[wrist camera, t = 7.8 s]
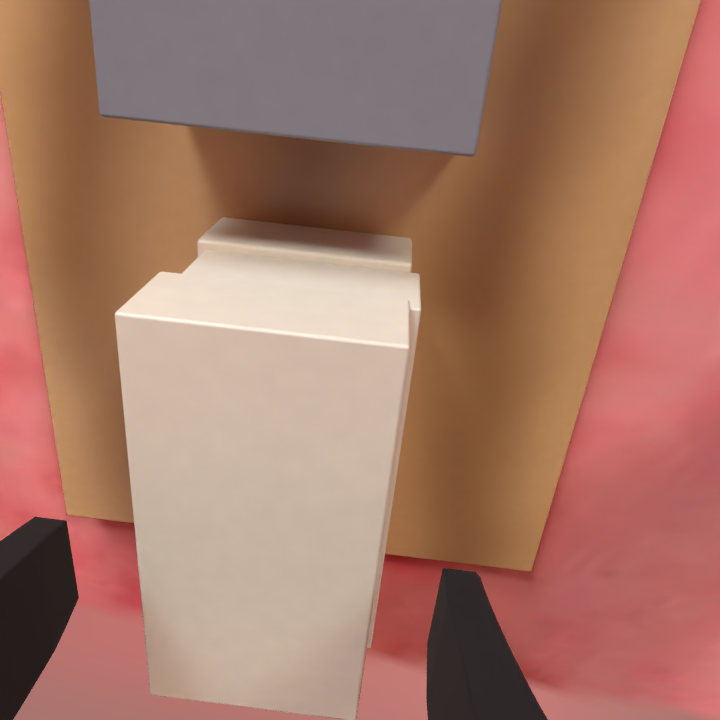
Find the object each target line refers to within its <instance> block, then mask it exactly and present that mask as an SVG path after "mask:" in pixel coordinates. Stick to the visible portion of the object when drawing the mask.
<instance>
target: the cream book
mask: <svg viewBox="0 0 720 720" xmlns="http://www.w3.org/2000/svg"><path fill="white" fill-rule="evenodd" d="M115 324H116V335H117V346H118V356H119V367H120V377H121V388H122V399H123V409H124V420H125V431H126V441H127V452H128V463H129V473H130V484H131V495H132V505H133V516H134V527H135V537H136V548H137V559H138V569H139V580H140V591H141V601H142V612H143V623H144V633H145V644H146V654H147V665H148V676H149V686H150V694H151V695H155V696H163V697H171V698H179V699H187V700H195V701H202V702H210V703H218V704H227V705H234V706H242V707H250V708H257V709H265V710H273V711H280V712H289V713H296V714H305V715H312V716H321V717H327V718H335V719H343V720H356V718H357V712H358V705H359V698H360V691H361V684H362V677H363V670H364V663H365V657H366V650H367V643H368V636H369V629H370V622H371V615H372V608H373V601H374V594H375V587H376V580H377V573H378V566H379V559H380V553H381V546H382V539H383V532H384V525H385V518H386V511H387V504H388V497H389V490H390V483H391V476H392V469H393V462H394V455H395V449H396V442H397V435H398V428H399V421H400V414H401V407H402V400H403V393H404V386H405V379H406V372H407V365H408V358H409V351H410V302H409V300H407V299H400V298H391V297H382V296H373V295H364V294H356V293H347V292H338V291H329V290H320V289H311V288H303V287H294V286H285V285H276V284H267V283H258V282H250V281H241V280H232V279H223V278H214V277H205V276H197V275H188V274H179V273H170V272H159V273H158V274H157V275H156V276H155V277H154V278H153V279H151V280H150V281H149V282H148V283H147V284H146V285H145V286H144V287H143V288H142V289H140V290H139V291H138V292H137V293H136V294H135V295H134V296H133V297H132V298H131V299H130V300H128V301H127V302H126V303H125V304H124V305H123V306H122V307H121V308H120V309H119V310H117V311H116V313H115Z"/></svg>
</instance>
